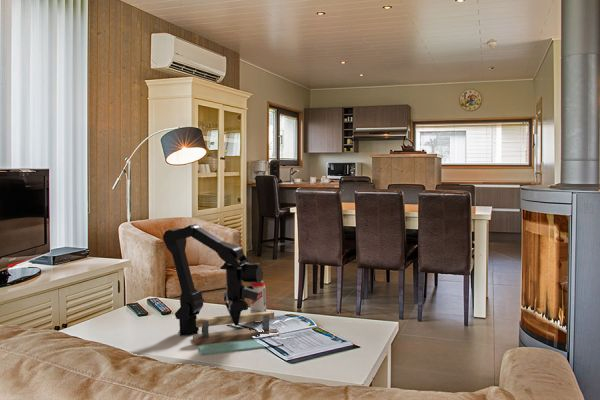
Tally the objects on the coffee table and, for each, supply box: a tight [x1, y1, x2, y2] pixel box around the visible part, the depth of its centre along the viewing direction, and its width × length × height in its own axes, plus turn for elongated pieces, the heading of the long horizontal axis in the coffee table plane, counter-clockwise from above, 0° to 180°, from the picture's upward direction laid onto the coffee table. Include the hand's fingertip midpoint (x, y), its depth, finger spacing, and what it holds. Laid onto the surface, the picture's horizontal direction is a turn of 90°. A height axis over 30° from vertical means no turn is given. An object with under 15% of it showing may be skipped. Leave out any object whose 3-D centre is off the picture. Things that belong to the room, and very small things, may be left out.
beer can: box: [249, 279, 267, 313], centre depth 212 cm, size 6×6×16 cm
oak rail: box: [196, 310, 275, 328], centre depth 192 cm, size 28×2×2 cm, turn 106°
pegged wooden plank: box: [201, 315, 271, 338], centre depth 192 cm, size 24×5×6 cm, turn 106°
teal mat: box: [198, 339, 265, 356], centre depth 182 cm, size 28×9×1 cm, turn 106°
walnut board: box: [192, 328, 280, 346], centre depth 192 cm, size 30×8×2 cm, turn 106°
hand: (235, 324), depth 192 cm, fingers closed on oak rail, 2 cm apart
